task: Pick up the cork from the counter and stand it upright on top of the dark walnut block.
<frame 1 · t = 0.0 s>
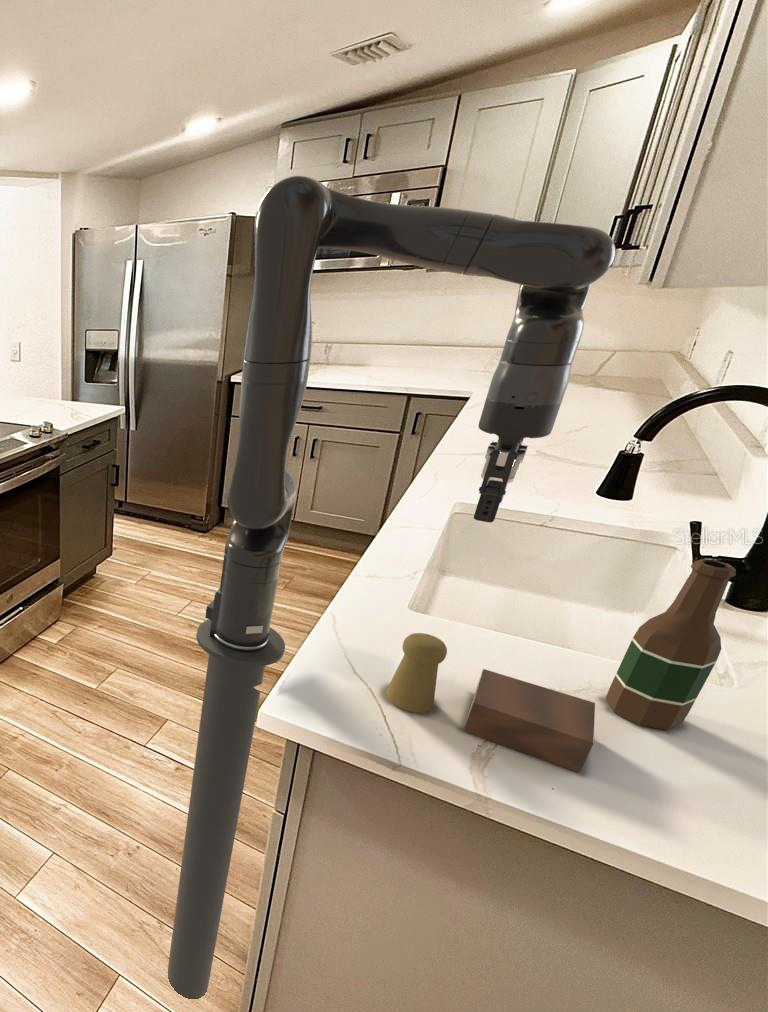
hand: (487, 511, 87), 28 cm above the worktop, tool pointing down, fingers open, 8 cm apart
walnut block: (522, 731, 86), on the worktop
beer bottle: (640, 713, 88), on the worktop
cork: (408, 700, 93), on the worktop
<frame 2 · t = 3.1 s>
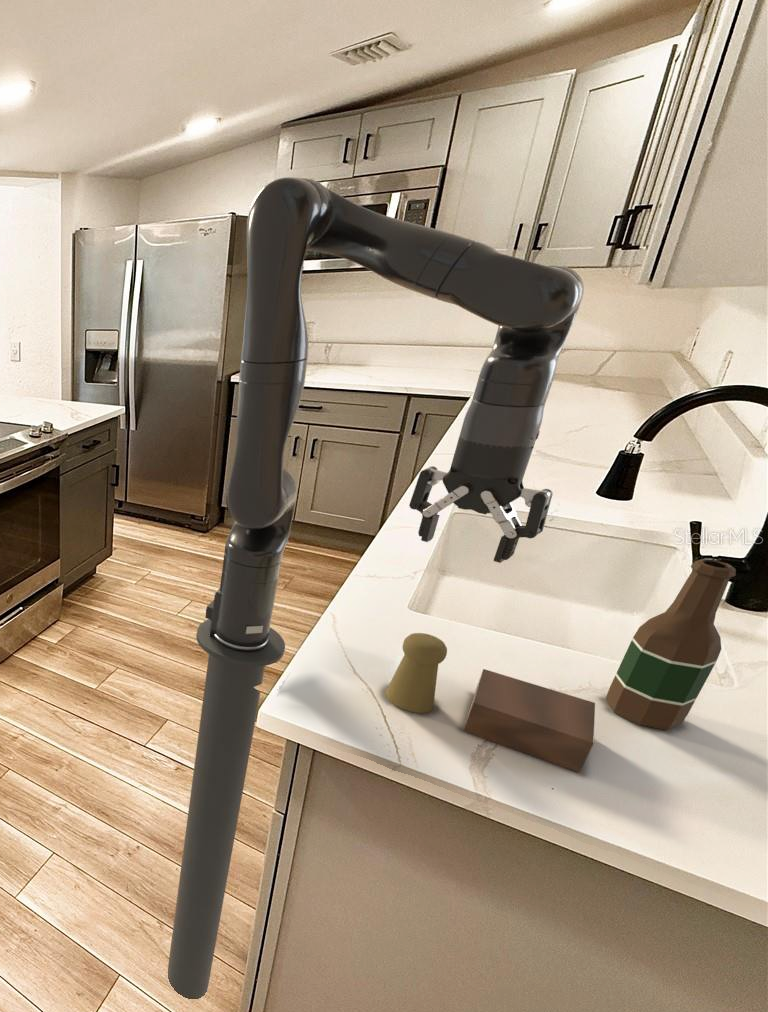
hand: (461, 550, 85), 24 cm above the worktop, tool pointing down, fingers open, 8 cm apart
nothing on the worktop moved.
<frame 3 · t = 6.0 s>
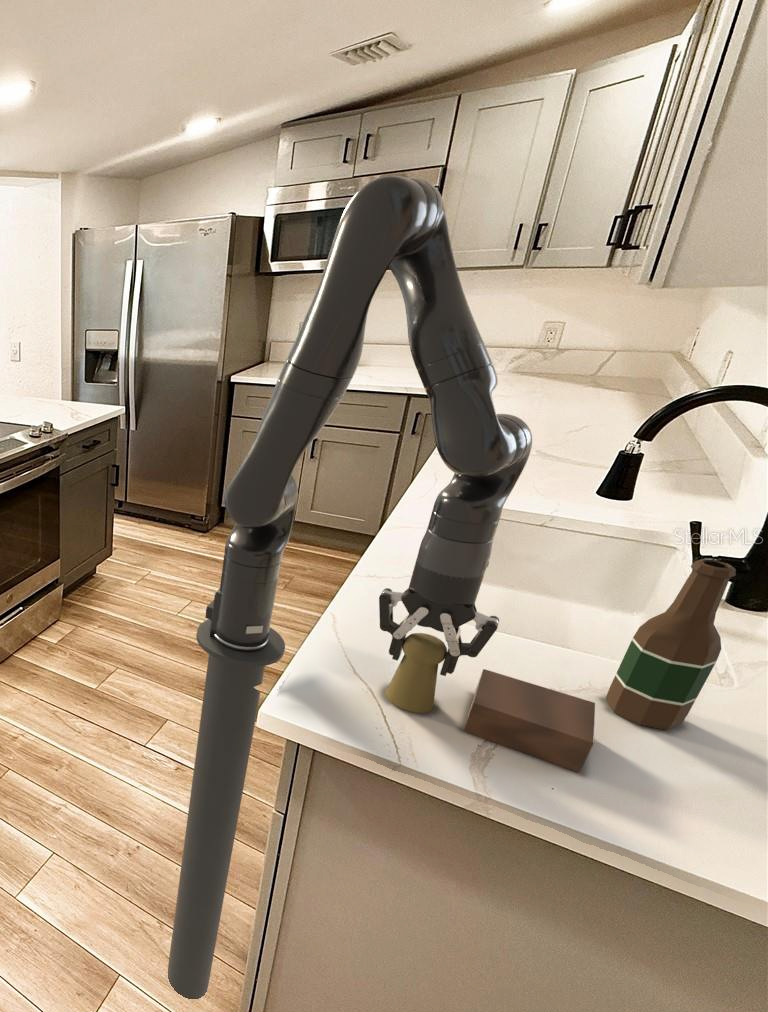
hand: (419, 664, 90), 6 cm above the worktop, tool pointing down, fingers closed on cork, 5 cm apart
cork: (408, 700, 93), on the worktop, touching gripper
everything else where it was.
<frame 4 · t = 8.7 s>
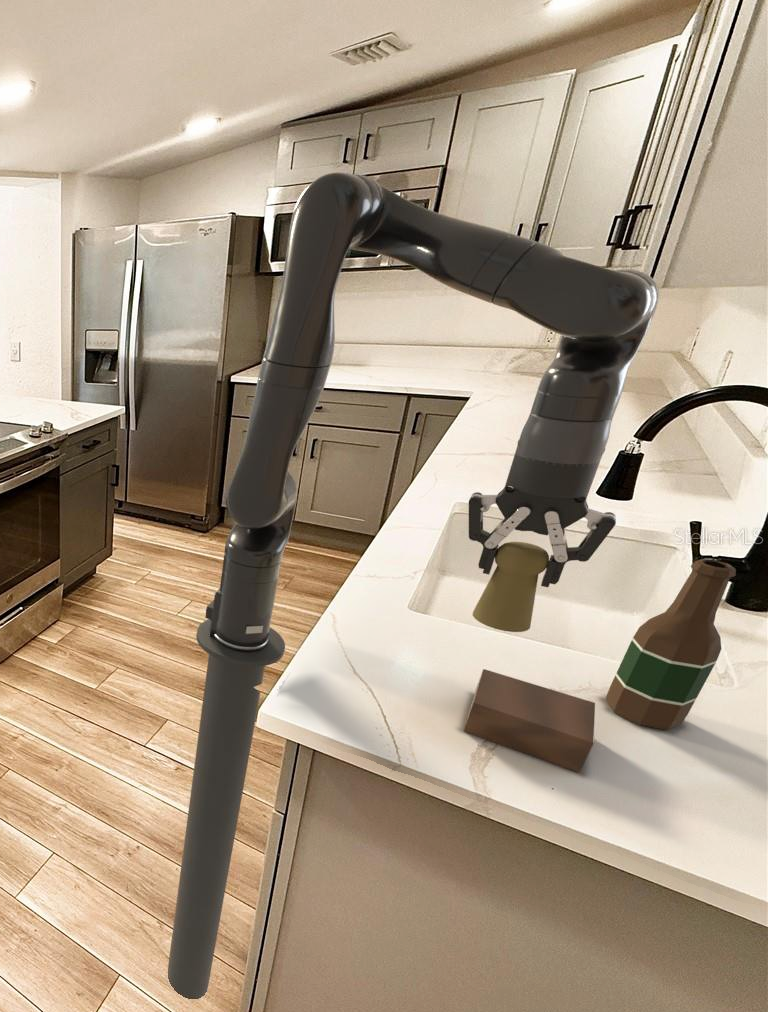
hand: (515, 577, 79), 23 cm above the worktop, tool pointing down, fingers closed on cork, 5 cm apart
cork: (500, 621, 82), point 16 cm above the worktop, touching gripper
everything else where it was.
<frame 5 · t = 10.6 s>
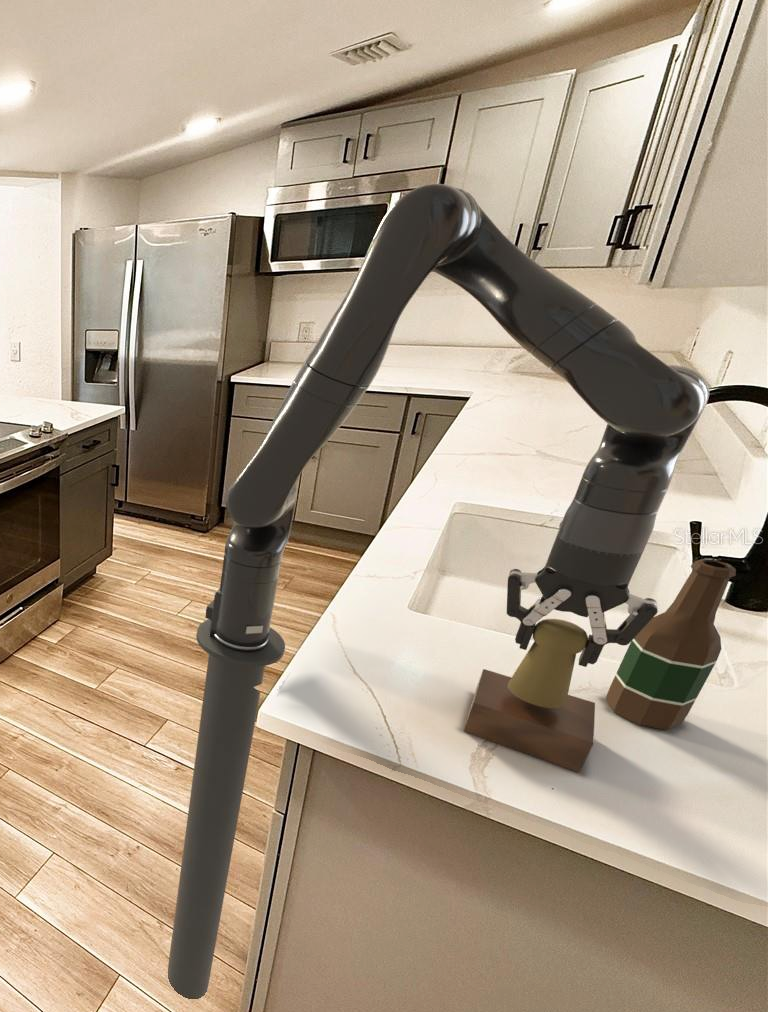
hand: (552, 654, 80), 13 cm above the worktop, tool pointing down, fingers closed on cork, 5 cm apart
cork: (535, 694, 83), point 6 cm above the worktop, touching gripper
everything else where it was.
when the fingers open (11 cm above the worktop, at t = 11.6 s): cork stays where it is, resting on walnut block.
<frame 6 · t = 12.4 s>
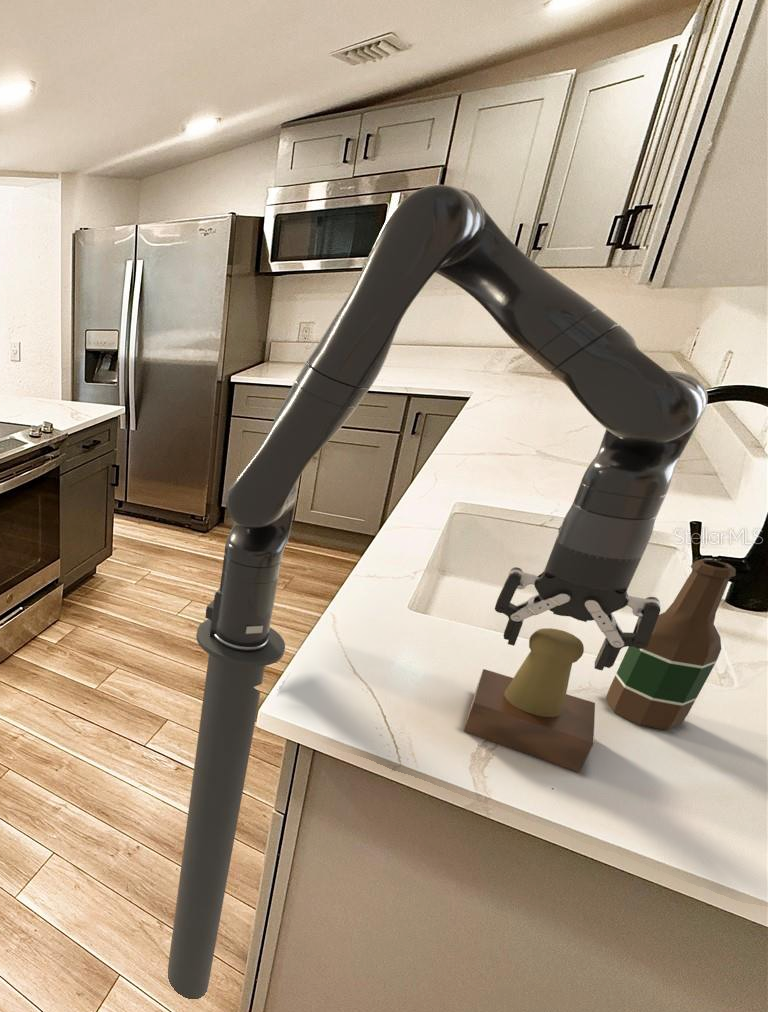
hand: (553, 654, 80), 13 cm above the worktop, tool pointing down, fingers open, 8 cm apart
cork: (532, 703, 84), point 5 cm above the worktop, touching walnut block
everything else where it was.
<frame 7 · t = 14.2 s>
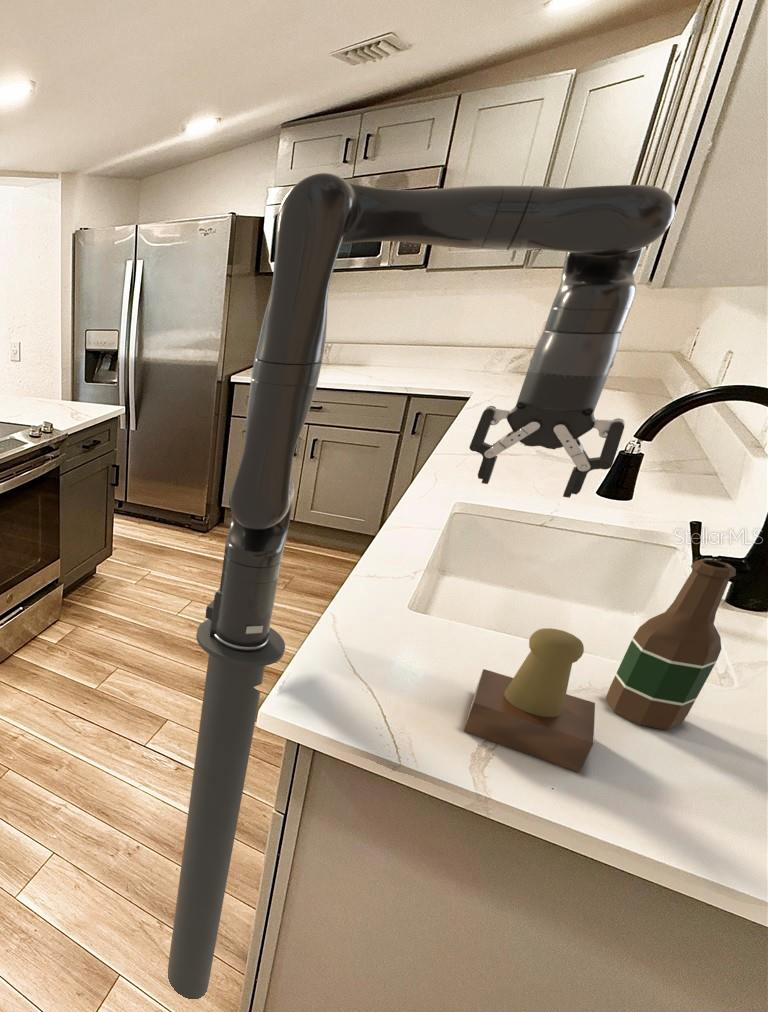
hand: (524, 488, 83), 32 cm above the worktop, tool pointing down, fingers open, 8 cm apart
nothing on the worktop moved.
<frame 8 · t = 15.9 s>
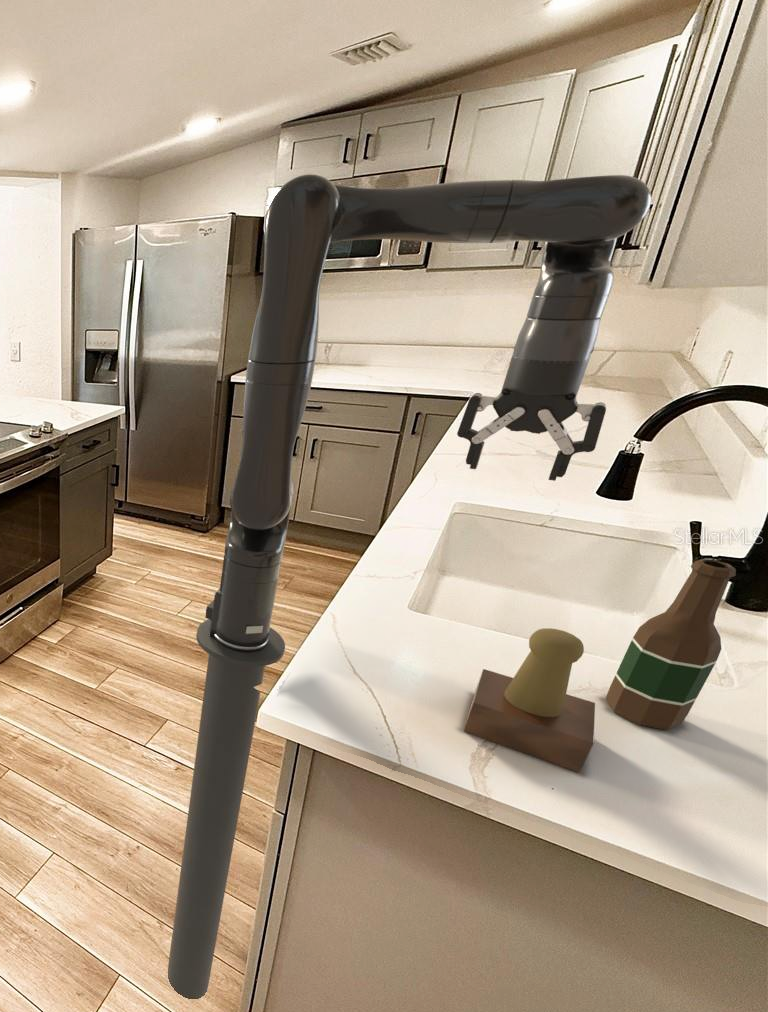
hand: (511, 473, 86), 33 cm above the worktop, tool pointing down, fingers open, 8 cm apart
nothing on the worktop moved.
at the end: cork inside the target area on the walnut block (0.1 cm from its centre), point 4.8 cm above the walnut block's base; cork tilted 0°; the gripper is holding nothing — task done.
